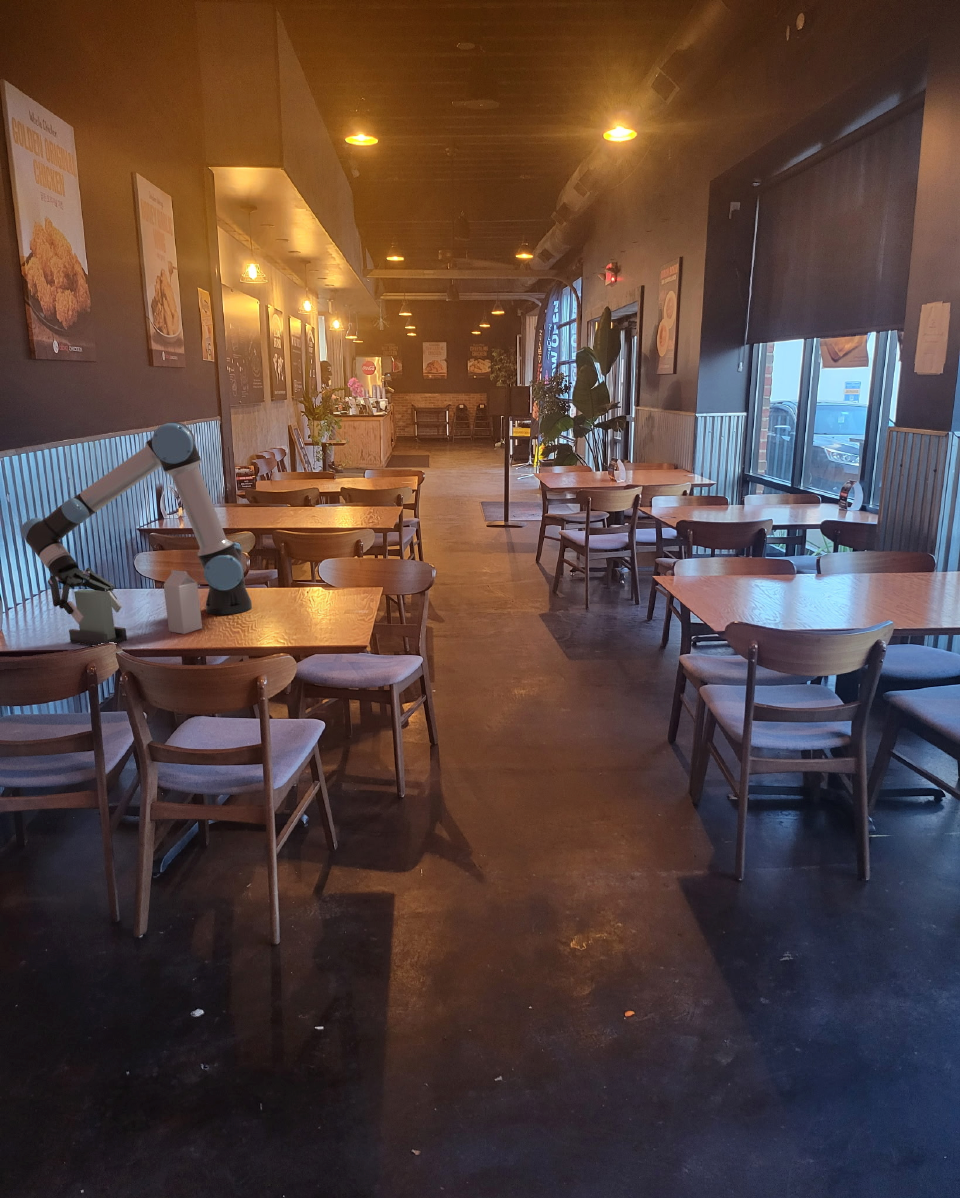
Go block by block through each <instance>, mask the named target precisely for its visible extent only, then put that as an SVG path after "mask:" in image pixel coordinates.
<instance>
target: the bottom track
mask: <svg viewBox="0 0 960 1198" xmlns="http://www.w3.org/2000/svg"><path fill="white" fill-rule="evenodd" d="M114 628H115V635H116V637H115V638H112V639H109V640H108V638H107V634H104V633H97V632H90V631H84V630H80V629H76V628H70V629H69V630H68V633H69V640H70V641H69V642H70V643H71V642H72V643H71V644H76V643H80V644H79V645H83V646H91V647H93V646H92V645H98V644H101V643H109V642H114V643H117V644H116V645H119V644H122V643H125V642H128V636H127V630H126V629H127V628H125V627H120V626H114Z"/></svg>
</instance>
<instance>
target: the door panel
mask: <svg viewBox="0 0 960 1198" xmlns="http://www.w3.org/2000/svg"><path fill="white" fill-rule="evenodd" d="M73 593H74V600H75V607H76V608H77V609H78V611H79V612H80V613H81V615H82V616H83V617H84V618H83V619H82V621H81V622H80V623H79V624H78V627H79V630H84V631H90V632H97V633H104V634H107V638H108V640H109V639H112V638H115V637H116V635H115V628H114V627H115V622H114V615H113V608H112V606H111V598H110V592H106V590H105V591H97V590H93V589H89V588H88V589H87V588H86V589H85V588H83V589H79V590H76V591H73Z"/></svg>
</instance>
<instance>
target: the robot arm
mask: <svg viewBox="0 0 960 1198" xmlns="http://www.w3.org/2000/svg"><path fill="white" fill-rule="evenodd" d="M195 441H196V440H195V436H194V434H193V432H192V430H191V429H190V428H189V427H188V426H187V425H185V424H183V423H181V422H176V421H175V422H173V421H172V422H168V423H164V424H161V425H160V426H158V427H157V428H156V429H155V431H154V433H153V435H152V437H151V438H150V439H148V440H147V441H145V445H144V447H143V448H142V449H140V450H138V451H137V452H136V453H135V454H133V455H132V456H130V457H129V458H127V459H126V460H124V461H123V462H122V463H120V464H119V465H117V466H115V468H113V469H112V470H111V471H109V472H107V473H106V474H105V475H103V476H102V477H100V478H99V479H98V480H96V481H94V482H93V483H92V484H90V485H89V486H87V487H86V488H85V489H84V490H82V491H81V492H80V493H78V494H77V495H75V496H74V497H70V498H68V499H67V500H65V501H64V502H63V503H61V505H59V506H58V507H57V508H56V509H55V510H54V511H52V512H51V513H50V514H49V515H48V516H46V517H45V518H43V519H42V518H40V517H32V518H30V520H29V519H28V520H27V521H25V522H24V523H23V524H22V525H21V527H20V529H19V530H20V531H19V532H20V534H21V536H22V537H23V539H24V540H25V542H26V544H27V545H28V546H29V547H30V548H31V549H32V551H33V552H34V553H35V554H36V555H37V557H38V558H39V560H40V561H41V562H42V564H44V567H46V569H48V571H49V572H50V574H51V576H50V577H49V578H48V581H47V584H48V585H49V586H50V593H51V597H52V598H51V599H52V604H53V606H54V607H58V608H59V609H64V611H65V612H66V613H67V614H68V615H70V616H71V617H72V618H73V619H74V620H75V622H76V623H77V624H78V625H79V623H80V622H81V621H82V619H83V618H84V617H83V616H82V615H81V613H80V612H79V611H78V609H77V608H76V604H74V602H72V601H71V600H69V593H70V589H74V588H77V587H83V588H88V589H90V590H97V591H106V592H110V598H111V606H112V610H114V611H115V613H119V612H120V610H121V608H123V606H122V604H121V603H120V602H119V600H118V597H117V596H116V595H115V593H114V592H113V591H114V589H115V587H116V585H114V584H112V583H111V582H110V581H109V580H107V579H105V578H103V577H102V576H101V575H99V574H98V573H96V572H94V570H92V568H90V567H87V568H86V569H85V570H81V569H80V568H79V565H78V562H76V560H75V559H74V558H73V556H71V554H70V552H69V551H68V550H67V549H66V547H65V546H64V545H63V543H61V541H60V540H62V539H63V538H64V537H65V536H66V535H68V534H69V533H70V532H72V531H73V530H74V529H76V528H77V527H78V526H80V524H82V523H84V522H85V521H86V520H87V519H89V518H90V517H91V516H93V515H95V513H96V512H98V511H99V510H101V509H103V508H104V507H105V506H107V505H108V504H110V503H111V502H113V501H115V499H117V498H118V497H119V496H121V495H123V494H124V493H126V492H127V491H129V489H131V488H133V487H134V486H136V485H137V484H138V483H140V482H141V481H142V480H143V479H146V478H147V477H148V476H150V474H152V473H154V472H155V471H157V470H158V469H160V468H162V470H163V472H164V473H165V474H167V475H169V476H170V477H171V478H172V481H173V483H174V485H175V489H176V491H177V493H178V496H179V498H180V501H181V504H182V506H183V509H184V511H185V513H186V516H187V519H188V521H189V523H190V526H191V528H192V531H193V533H194V537H195V538H196V542H197V544H198V546H199V550H198V551H197V557H198V559H199V562H200V564H201V567H202V570H203V575H204V580H205V581H206V583H207V584H208V593H207V598H206V601H205V612H206V613H208V614H210V615H218V616H219V615H220V616H222V615H234V614H239V613H240V614H241V613H245V612H246V611H249V610H251V609H252V608H253V605H252V600H251V597H250V595H249V592H248V590H247V588H246V584H245V575H244V567H243V555H242V552H243V550H242V547H241V546H242V545H241V544H240V543H239V542H235V541H234V542H233V541H231V540H230V539H227V537H226V534H225V532H224V529H223V526H222V525H221V522H220V519H219V517H218V514H217V512H216V511H217V510H216V509H215V506H214V504H213V501H212V498H211V495H210V494H209V491H208V487H207V485H206V483H205V480H204V478H203V474H202V473H201V469H200V464H201V463H202V458H201V456H200V453H199V451H198V449H197V445H196V443H195ZM59 584H61V585H62V592H61V591H60V588H59V587H60V586H59ZM60 592H61V593H60Z"/></svg>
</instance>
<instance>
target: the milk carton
mask: <svg viewBox="0 0 960 1198" xmlns="http://www.w3.org/2000/svg"><path fill="white" fill-rule="evenodd" d="M170 571H171V574H170V575H169V576H168V578H167V579H166V580H165V582H164V583H163V589H164V590H163V591H164V592H163V594H164V600H165V607H166V614H167V624H168V631H169V632H172V633H176V634H177V633H178V634H183V635H185V634H188V633H191V632H195V631H197V630H201V629H203V625H202V615H201V614H202V613H201V605H200V596H199V595H200V594H199V586H198V581H196V580H195V579H193V578H192V577H191V576H190V575H189V574H188V572H187V571H185V570H184V571H183V570H177V569H176V570H175V569H171V570H170Z"/></svg>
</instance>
